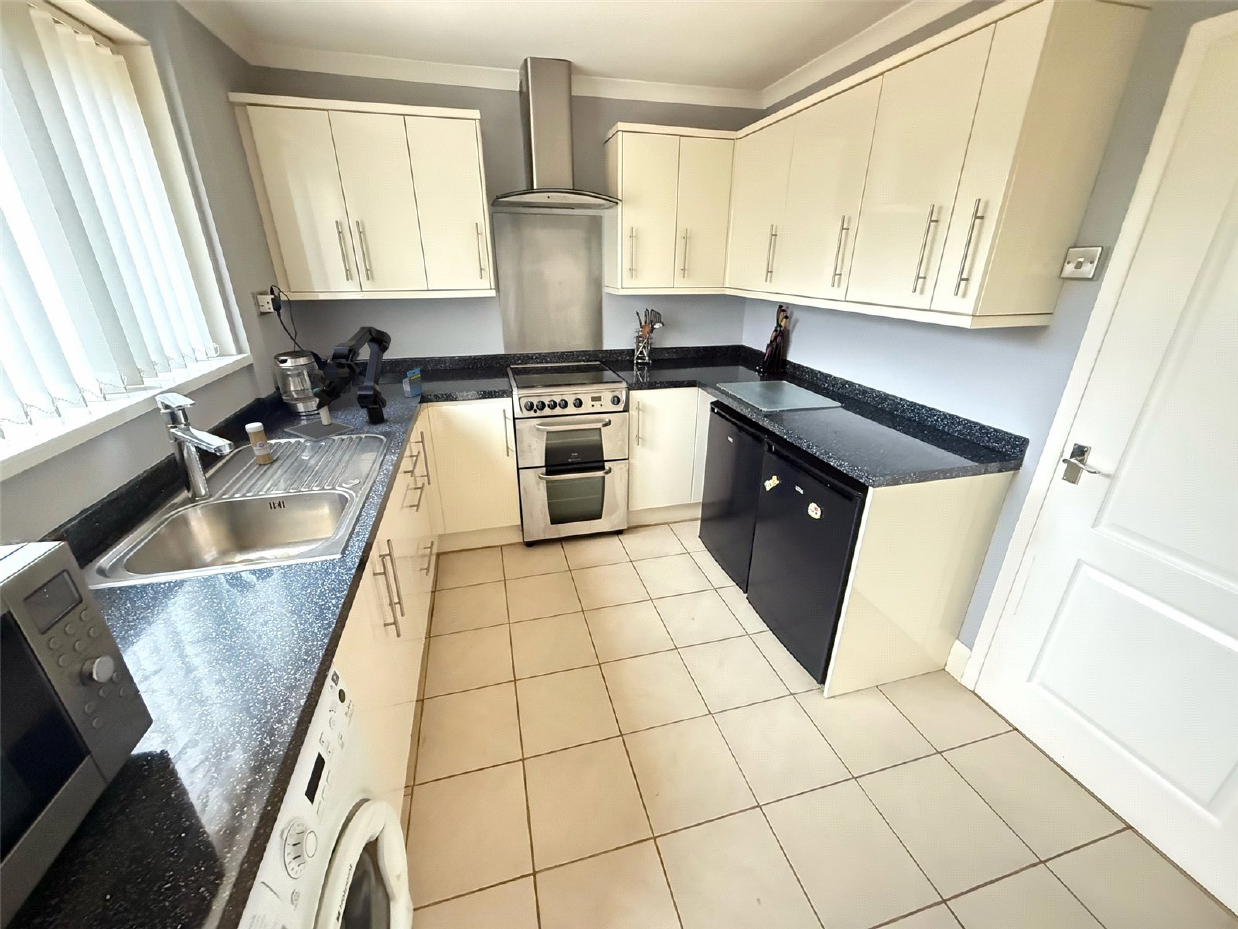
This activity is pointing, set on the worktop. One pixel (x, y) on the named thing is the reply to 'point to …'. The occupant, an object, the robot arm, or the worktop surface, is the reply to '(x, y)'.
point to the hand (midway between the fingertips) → (319, 407)
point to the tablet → (319, 430)
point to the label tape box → (412, 384)
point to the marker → (324, 413)
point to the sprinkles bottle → (259, 443)
